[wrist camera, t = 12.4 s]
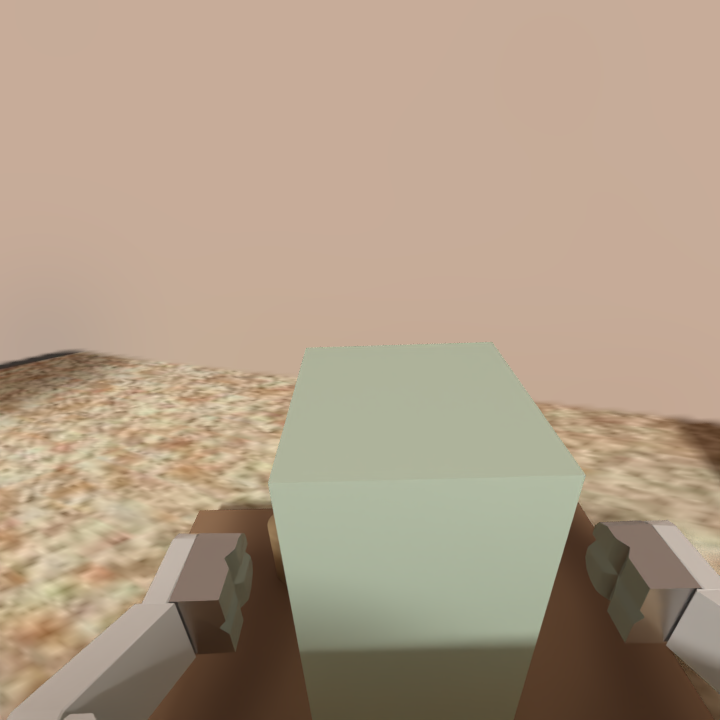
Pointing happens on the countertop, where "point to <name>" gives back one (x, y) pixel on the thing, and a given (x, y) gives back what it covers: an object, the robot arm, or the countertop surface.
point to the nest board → (544, 677)
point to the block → (418, 529)
